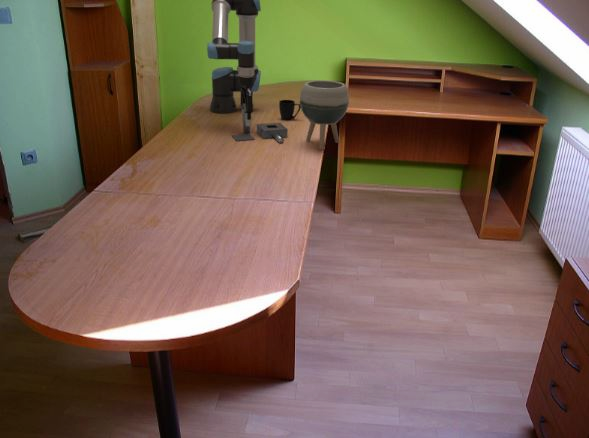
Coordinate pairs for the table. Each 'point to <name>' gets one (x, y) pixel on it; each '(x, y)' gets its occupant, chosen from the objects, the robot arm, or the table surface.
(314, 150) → the table surface
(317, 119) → the planter
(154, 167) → the table surface
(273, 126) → the block
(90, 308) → the table surface
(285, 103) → the mug
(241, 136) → the mat
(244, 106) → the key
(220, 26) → the robot arm
